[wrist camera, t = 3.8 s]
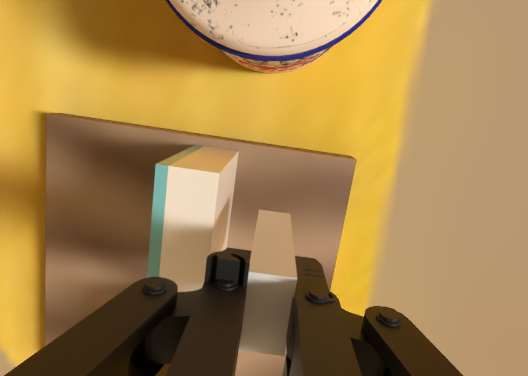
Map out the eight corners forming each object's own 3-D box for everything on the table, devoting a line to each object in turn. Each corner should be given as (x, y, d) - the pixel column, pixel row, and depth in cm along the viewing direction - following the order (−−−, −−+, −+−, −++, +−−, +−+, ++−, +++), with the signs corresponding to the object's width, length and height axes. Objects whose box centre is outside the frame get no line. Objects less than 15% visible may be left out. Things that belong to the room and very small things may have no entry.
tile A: (196, 144, 21) (155, 164, 14) (238, 151, 21) (219, 173, 14) (184, 256, 22) (143, 322, 16) (224, 262, 22) (200, 331, 16)
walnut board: (61, 113, 22) (46, 113, 21) (351, 156, 22) (356, 159, 21) (58, 351, 26) (44, 366, 25) (304, 388, 26) (306, 405, 24)
